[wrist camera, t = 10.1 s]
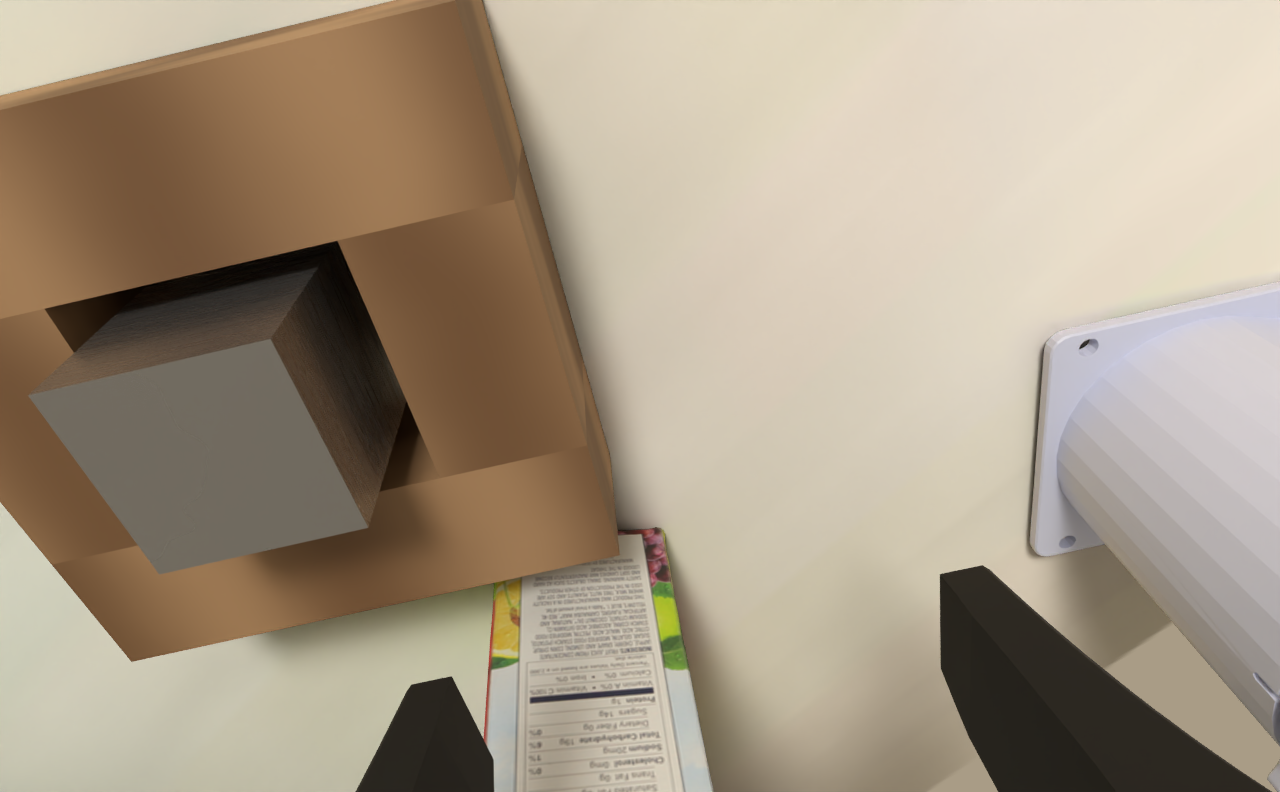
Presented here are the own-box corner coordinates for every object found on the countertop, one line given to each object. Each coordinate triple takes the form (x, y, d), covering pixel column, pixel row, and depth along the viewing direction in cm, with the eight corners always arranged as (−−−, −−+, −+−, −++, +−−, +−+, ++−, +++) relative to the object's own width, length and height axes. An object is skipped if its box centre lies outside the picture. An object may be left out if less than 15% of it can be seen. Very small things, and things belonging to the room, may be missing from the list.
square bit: (357, 207, 18) (270, 339, 13) (419, 357, 20) (368, 528, 15) (187, 247, 18) (27, 395, 13) (267, 392, 20) (159, 574, 15)
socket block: (476, -19, 16) (454, 0, 12) (610, 456, 22) (619, 555, 19) (-96, 119, 16) (-269, 175, 13) (195, 548, 23) (131, 661, 19)
